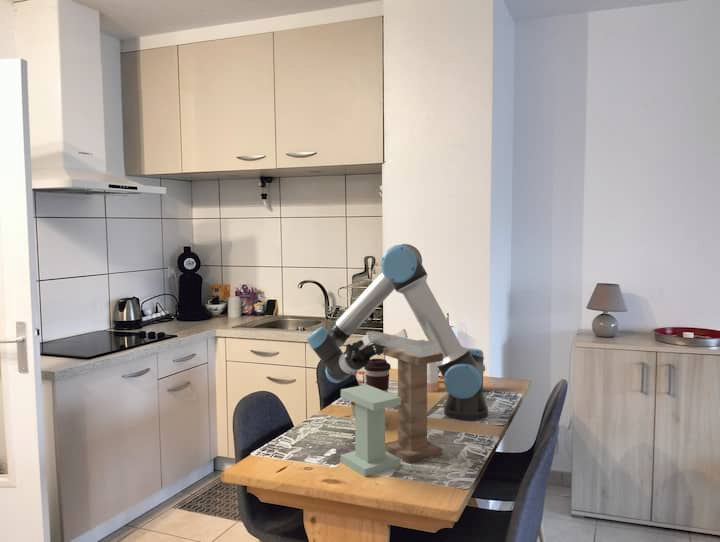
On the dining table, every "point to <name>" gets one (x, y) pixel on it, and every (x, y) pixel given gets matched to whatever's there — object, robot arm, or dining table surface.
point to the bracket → (405, 344)
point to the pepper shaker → (432, 377)
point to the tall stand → (412, 408)
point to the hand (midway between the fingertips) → (387, 335)
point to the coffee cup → (378, 374)
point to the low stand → (370, 430)
